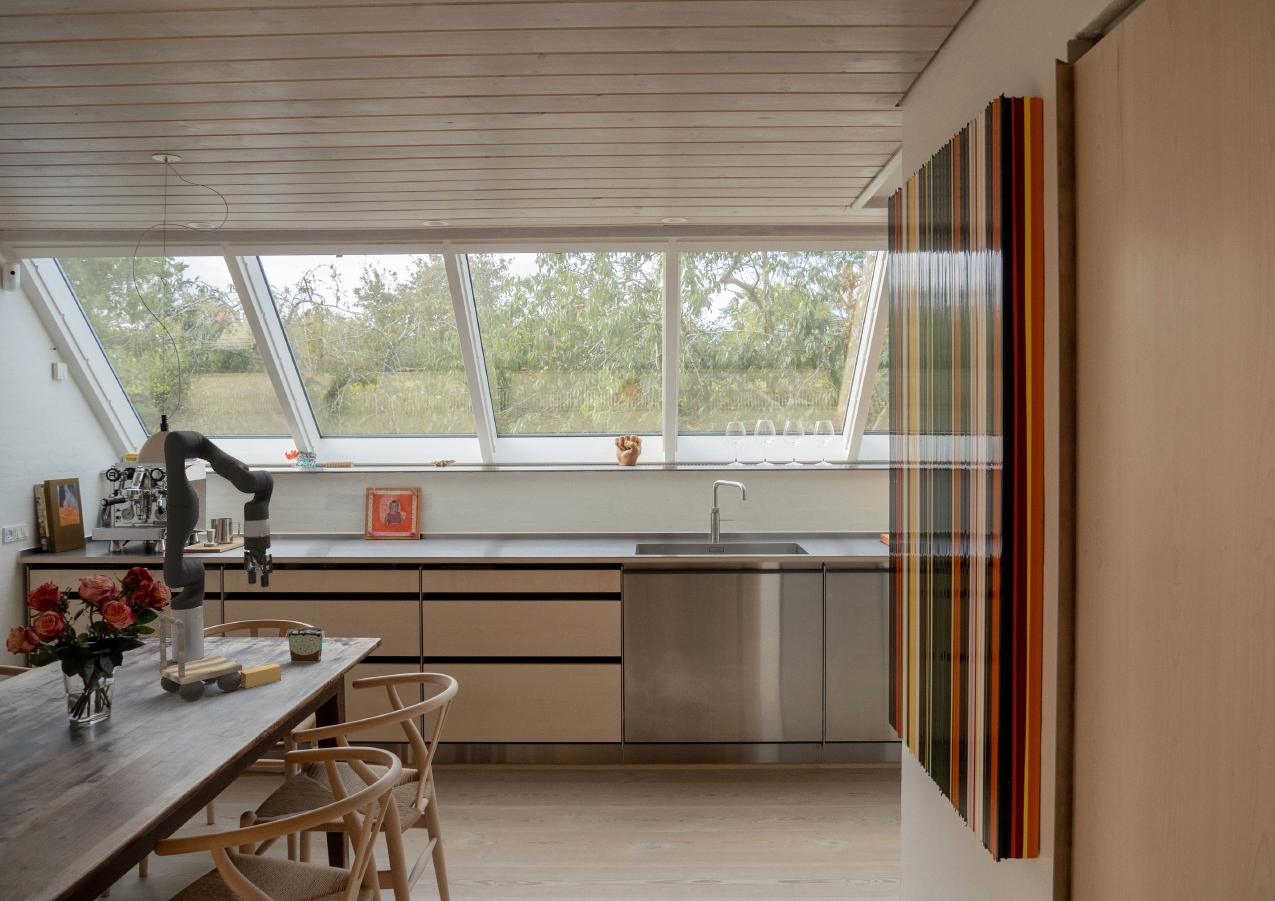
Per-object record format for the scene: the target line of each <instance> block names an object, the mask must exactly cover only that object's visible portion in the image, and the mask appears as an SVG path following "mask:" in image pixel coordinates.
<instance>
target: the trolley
mask: <svg viewBox="0 0 1275 901" xmlns="http://www.w3.org/2000/svg"><path fill="white" fill-rule="evenodd" d="M166 623H167V624H170V625H171V624H173V625H176V626H177V643H178V662H177V664H174V665H170V666H168V662H167V661H168V660H167V658H168V657H167V634H166V632H167V631H166ZM183 624H184V623H183V621H181V620H178V619H175V618H172V617H171V616H170V615H166V614H164V613H161V614H160V615H159V616H158V627H159V628H158V629H159V630H158V631H159V632H158V634H159V656H160V657H159V658H160V659H159V663H160V668H158V669H159V675H160V676H162V677H161V679H160V686H161V688H162V690H164V691H166V692H168V693H176V692H178V695H179V697H180V699H181V700H183V701H185V702H188V703H193V702H196V701H197V700H199V699H201V698H202V696H203V694H204V693H205V690H206V687H205V683H206V684H213V683H215V682H216V684H217V688H218V689H219V690H220V691H222V692H226V693H232V692H235V691H236V690H237V689H238V688H239V687H241V680H242V678H241V675H240V671H243V664H241V663H240V662H236V661H233V660H231V659H228V658H225V657H224V656H221V655H215V656H210V657H209V656H208V657H206V658H201V659H198V660H195V661H189V662H185V658H184V626H183ZM212 682H213V683H212Z"/></svg>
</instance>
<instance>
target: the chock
mask: <svg viewBox="0 0 1275 901" xmlns="http://www.w3.org/2000/svg"><path fill="white" fill-rule="evenodd" d="M239 673H240V675H241V678H242V680H241V684H240V687H242V686H243V687H242V688H244V687H245V688H244V689H246V688H248V689H250V688H249V687H252V688H255V687H254V686H256V687H258V686H257V685H260V686H263V685H262V684H264V685H266V684H265V683H268V684H270V683H269V682H272V683H275V682H274V681H276V682H279V681H278V680H280V681H282V666H281V665H279V664H277V663H270V664H267V665H262V666H257V667H253V668H249V669H244V670H242V671H239Z"/></svg>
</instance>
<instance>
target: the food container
mask: <svg viewBox="0 0 1275 901" xmlns="http://www.w3.org/2000/svg"><path fill="white" fill-rule="evenodd" d="M325 637H326V635H325V631H324V630H323V627H318V626H307V627H298V628H293V629H290V630H288V631H287V632H286V637H285V638H287V639H288V646H289V647H288V648H289V655H290V661H291V663H320V662H321V661H322V650H323V639H324V638H325Z"/></svg>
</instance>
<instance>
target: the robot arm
mask: <svg viewBox="0 0 1275 901" xmlns="http://www.w3.org/2000/svg"><path fill="white" fill-rule="evenodd" d="M163 449H164V450H163V452H164V464H165V471H166V472H165V473H166V508H165V510H166V513H165V514H166V534H165V535H166V538H165V540H166V541H165V551H164V559H163V567H162V568H163V569H162V573H163V574H162V577H163V582H164V584H165V585H166V586H167V588H169V589H170V590H171V589H172V590H173V589H174V590H175V589H180V588H182V590H181V592H180V593H179V594H178V595H177V596H174V597H173V598H172V599H171V600H170V603H169V608H170V617H172V618H175V619H178V620H181V621H183V623H184V624H183V626H184V658H185V663H187V662H191V661H196V660H200V659H204V657H205V636H204V635H205V634H204V633H205V632H204V630H205V629H204V608H203V607H204V605H203V604H204V603H203V602H204V599H205V594H206V593H205V590H206V586H205V584H206V570H205V568H206V567H205V565H204V562H203V561H202V559H201V558H198V557H196V556H191V557H185V558H184V552H185V547H186V544H187V542H188V540H189V538H190V536H191V534H192V533H193V532H194V530H195V528H196V526H197V524H198V522H199V519H200V518H199V517H200V500H199V495H198V493H197V492H196V490H195V488H194V487H193V485H192V483H191V482H190V480H189V478H188V477H187V473H186V460H191V459H199V460H203V461H206V462H208V463H209V464H210V468H211V469H212V470H213V472H215V473H216V475H218V476H220V477H222V478H223V479H225V480H227V481H229V482H230V483H231V484H232V485H233V486H234V487H235V488H236V490H238V491H239V492H241V493H242V494H249V495H250V494H253V497H252V499H251V500H249V501H247V502H245V503H244V504H243V522H244V523H243V548H244V551H243V569H244V570H246V572H247V577H248V578H247V581H248V585H254V584H256V583H257V570H258V571H259V574H260V587H261V588H268V587H269V586H270V578H269V576H270V574H272V573H273V572H274V570H273V555H272V553H267V550H269V549H270V548H271V546H272V545H271V541H272V540H271V523H270V514H269V513H270V509H269V507H270V502H271V499H272V494H273V491H274V487H275V486H274V485H275V483H274V478H273V476H272V474H271V472H269V471H268V470H263V469H262V470H250V467H249V466H248V465H247V464H246V463H245V462H243V460H242V461H241V460H239V459H238V458H237V457H234V456H232V455H230V454H228V453H227V452H225V451H223V449H221V448H220V447H219V446H217V445H216V444H215V443H213V442H212V441H211V440H210V439H209V438H208V437H206V436H205V435H204V434H202V433H201V432H199V431H195V430H171V431H170V432H168V433H167V434H166V436H165V439H164V445H163ZM170 629H171V631H170V635H171V636H170V638H171V661H172V662H174V663H178V643H177V626H176V625H173V624H171V623H170Z"/></svg>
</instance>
